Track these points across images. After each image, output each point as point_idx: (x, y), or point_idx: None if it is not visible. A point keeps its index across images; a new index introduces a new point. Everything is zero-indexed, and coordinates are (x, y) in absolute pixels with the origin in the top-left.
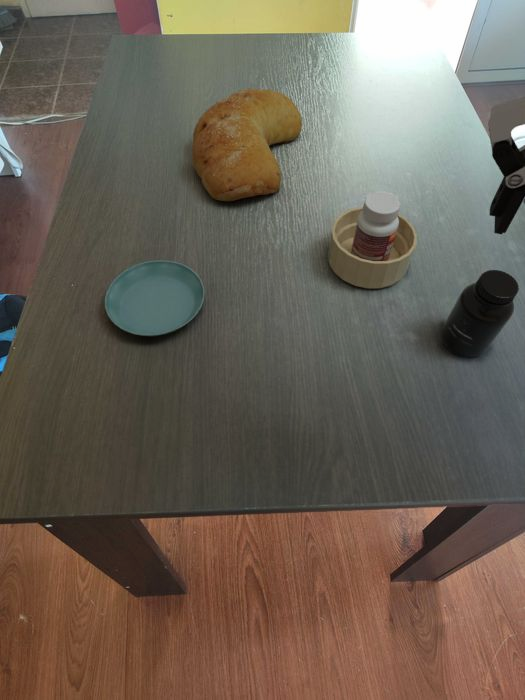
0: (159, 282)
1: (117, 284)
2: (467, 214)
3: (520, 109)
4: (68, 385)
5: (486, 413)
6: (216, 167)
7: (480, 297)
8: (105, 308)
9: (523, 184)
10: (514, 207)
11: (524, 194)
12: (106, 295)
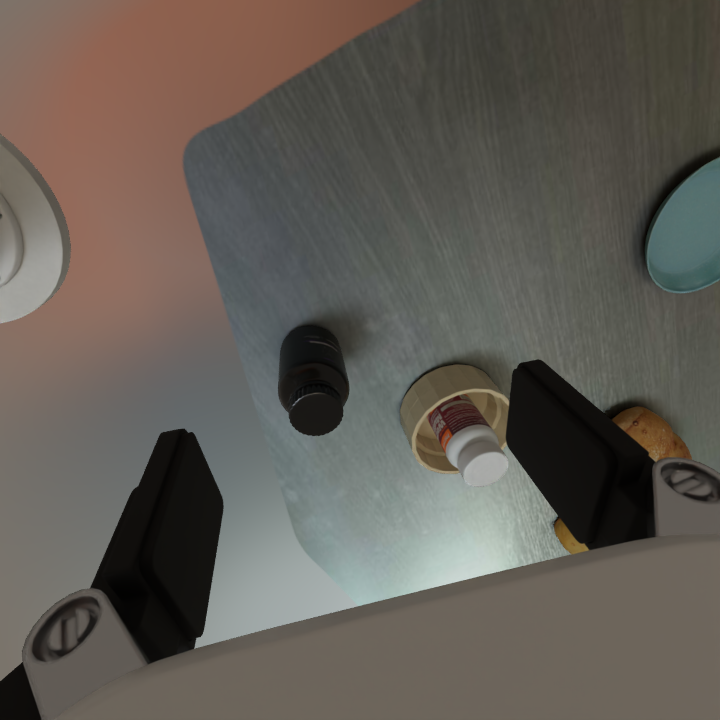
0: (694, 259)
1: None
2: (350, 512)
3: None
4: None
5: (253, 255)
6: (666, 439)
7: (331, 386)
8: None
9: (652, 481)
10: (589, 414)
11: (611, 455)
12: None
